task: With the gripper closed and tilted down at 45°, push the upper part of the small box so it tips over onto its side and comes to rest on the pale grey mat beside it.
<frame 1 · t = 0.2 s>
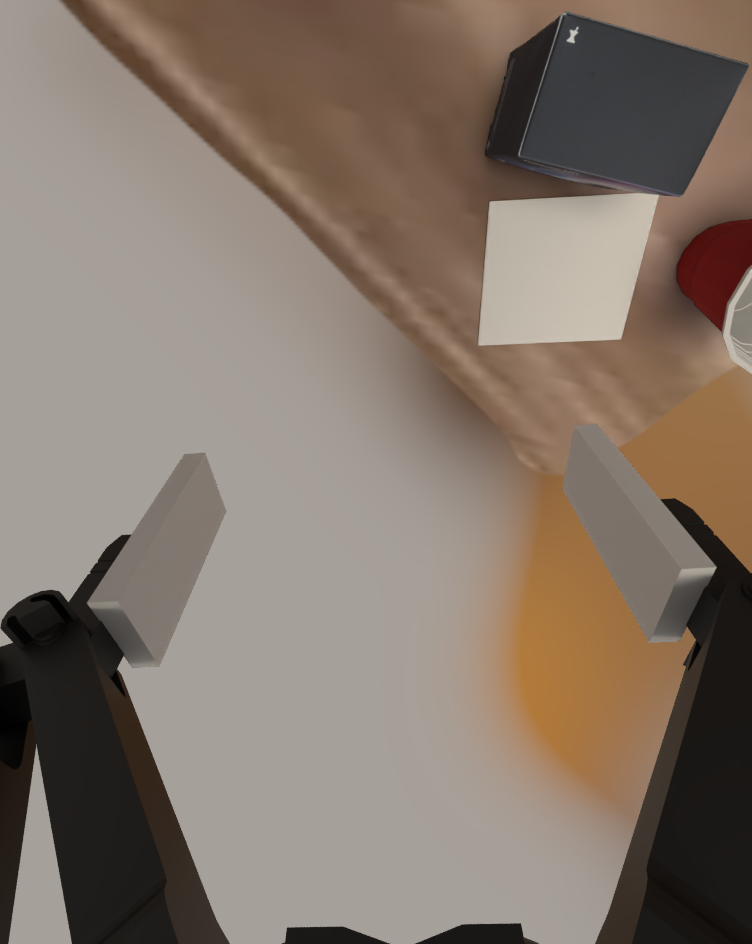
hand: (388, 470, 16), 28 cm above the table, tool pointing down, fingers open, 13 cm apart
mat: (559, 275, 38), on the table
plastic cup: (709, 263, 38), on the table
small box: (563, 125, 33), on the table
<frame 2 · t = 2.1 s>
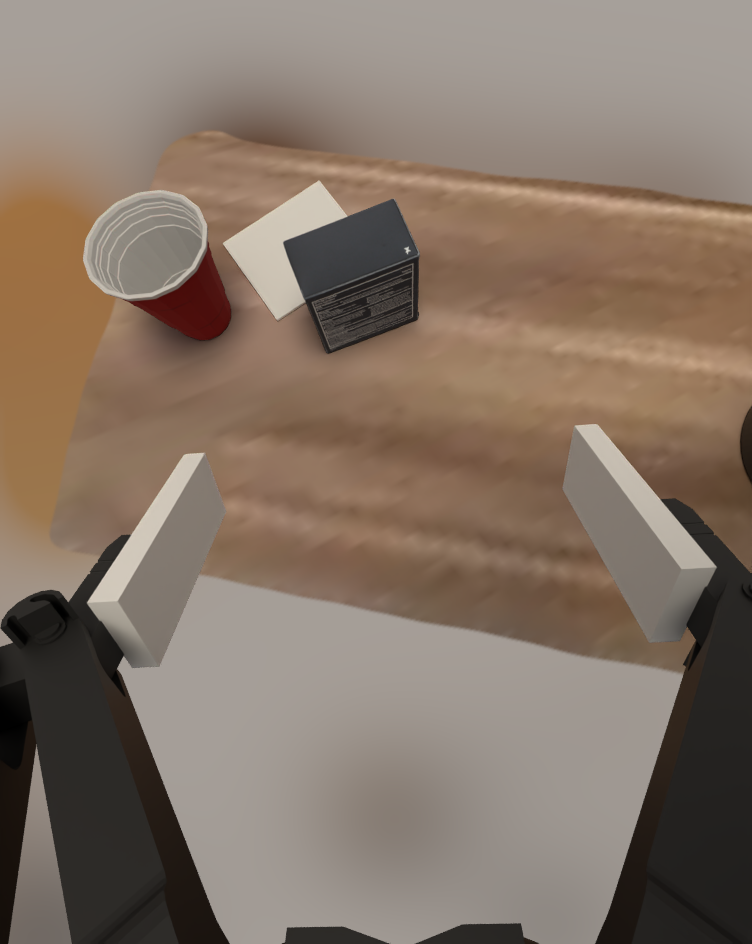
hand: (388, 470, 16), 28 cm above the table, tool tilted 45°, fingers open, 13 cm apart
mat: (299, 250, 49), on the table
plastic cup: (206, 315, 49), on the table
small box: (362, 312, 48), on the table
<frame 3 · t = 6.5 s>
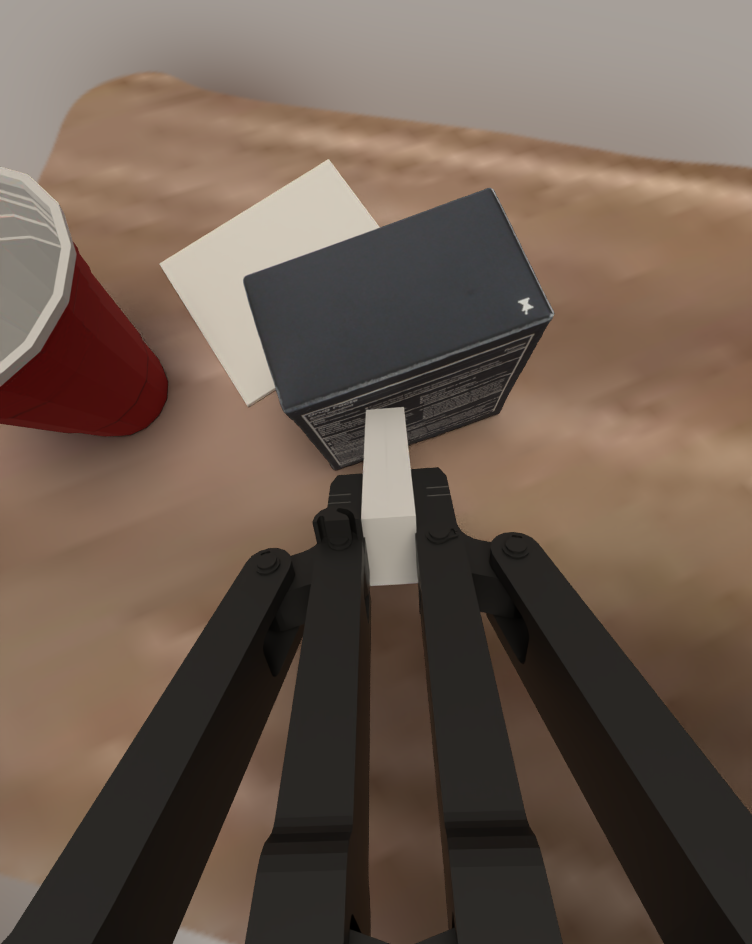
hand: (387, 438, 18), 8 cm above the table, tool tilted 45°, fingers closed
mat: (290, 279, 28), on the table
plastic cup: (126, 390, 28), on the table
small box: (399, 395, 27), on the table, touching gripper
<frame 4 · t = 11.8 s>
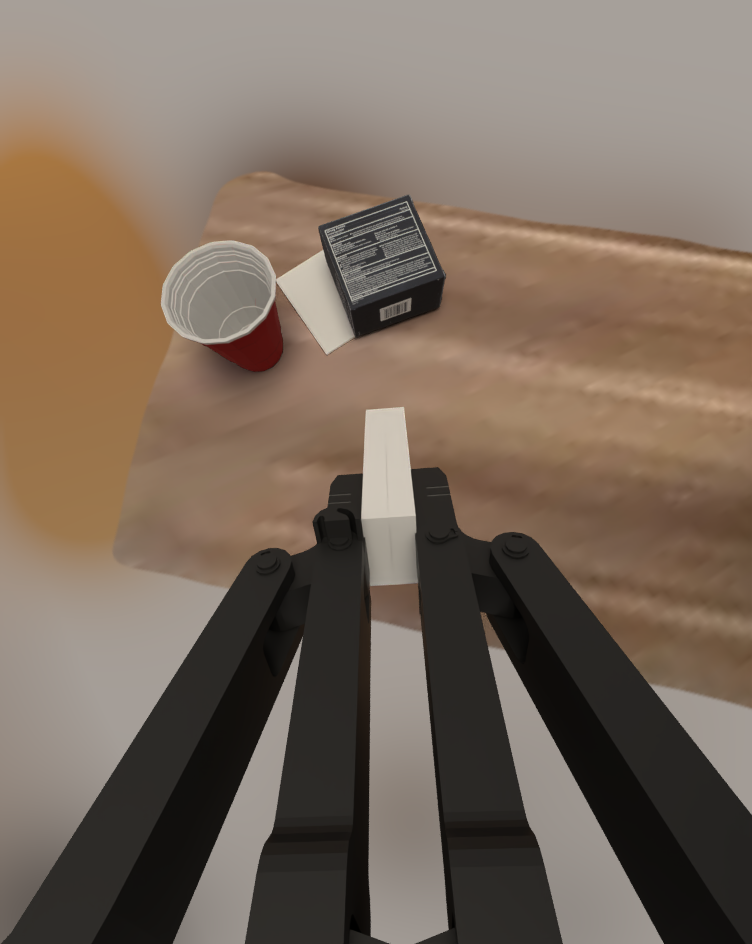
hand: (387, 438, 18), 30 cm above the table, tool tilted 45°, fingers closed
mat: (347, 288, 53), on the table
plastic cup: (259, 347, 52), on the table
small box: (398, 311, 48), point 3 cm above the table, touching mat
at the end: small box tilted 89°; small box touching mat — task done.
